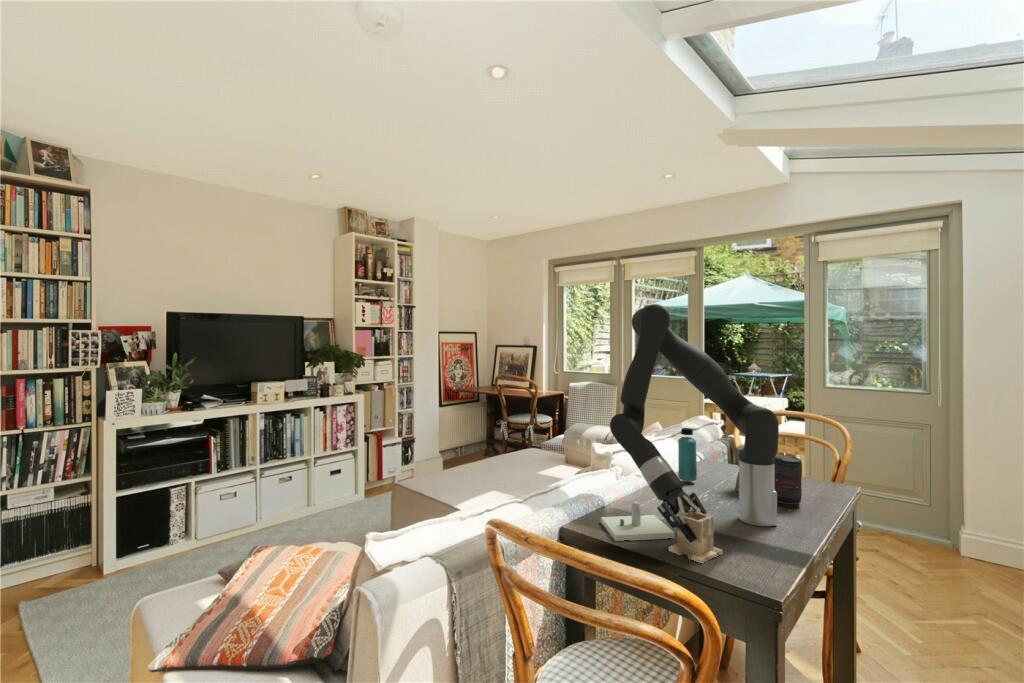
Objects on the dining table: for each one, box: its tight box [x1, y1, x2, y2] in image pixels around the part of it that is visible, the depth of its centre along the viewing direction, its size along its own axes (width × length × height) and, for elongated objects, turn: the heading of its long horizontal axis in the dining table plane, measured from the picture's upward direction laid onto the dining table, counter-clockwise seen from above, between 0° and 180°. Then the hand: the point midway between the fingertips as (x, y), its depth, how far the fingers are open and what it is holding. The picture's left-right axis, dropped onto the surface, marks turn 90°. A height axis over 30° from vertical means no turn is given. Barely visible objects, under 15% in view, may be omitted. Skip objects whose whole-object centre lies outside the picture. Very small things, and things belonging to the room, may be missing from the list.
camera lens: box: [775, 454, 803, 509], centre depth 152 cm, size 8×8×15 cm
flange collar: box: [668, 509, 724, 564], centre depth 118 cm, size 9×9×9 cm
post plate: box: [600, 501, 675, 542], centre depth 132 cm, size 16×13×8 cm
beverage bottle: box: [677, 427, 698, 482], centre depth 176 cm, size 6×7×20 cm
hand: (701, 537), depth 117 cm, fingers closed on flange collar, 6 cm apart
